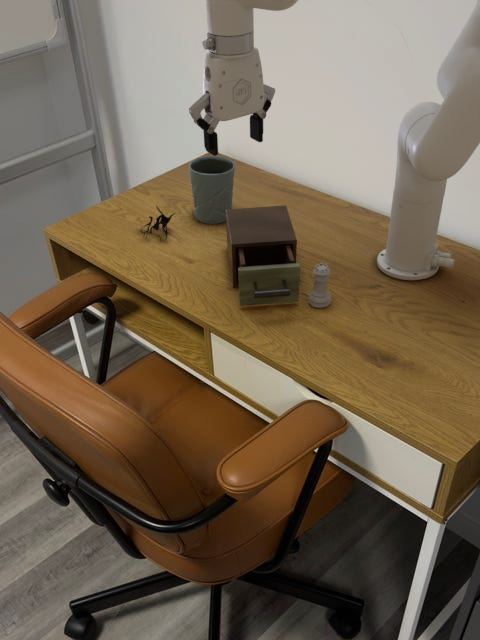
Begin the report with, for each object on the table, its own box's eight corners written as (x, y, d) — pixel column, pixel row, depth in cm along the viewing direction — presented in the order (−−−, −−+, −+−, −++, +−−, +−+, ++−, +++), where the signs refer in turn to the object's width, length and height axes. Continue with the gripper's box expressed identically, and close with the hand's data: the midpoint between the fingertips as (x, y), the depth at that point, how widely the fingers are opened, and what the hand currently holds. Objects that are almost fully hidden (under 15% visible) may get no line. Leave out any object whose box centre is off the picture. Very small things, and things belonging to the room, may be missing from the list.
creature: (158, 249, 155) (183, 229, 158) (152, 230, 151) (177, 209, 154) (134, 238, 159) (158, 218, 162) (127, 219, 154) (152, 199, 157)
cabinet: (295, 283, 142) (296, 239, 135) (233, 287, 141) (231, 244, 134) (285, 247, 152) (286, 205, 146) (227, 251, 152) (225, 209, 145)
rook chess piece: (330, 310, 134) (332, 273, 129) (306, 308, 135) (308, 271, 129) (332, 297, 137) (334, 261, 132) (309, 295, 138) (311, 259, 133)
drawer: (302, 315, 132) (304, 279, 126) (242, 319, 131) (241, 283, 126) (288, 265, 145) (289, 231, 139) (233, 269, 144) (232, 234, 139)
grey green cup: (186, 211, 166) (181, 160, 157) (225, 201, 169) (223, 151, 160) (203, 229, 159) (199, 177, 151) (243, 219, 162) (242, 168, 154)
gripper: (198, 58, 110) (205, 165, 122) (286, 37, 117) (285, 141, 129) (174, 47, 115) (183, 151, 126) (260, 28, 121) (261, 129, 133)
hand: (234, 146), depth 128 cm, fingers open, 9 cm apart
